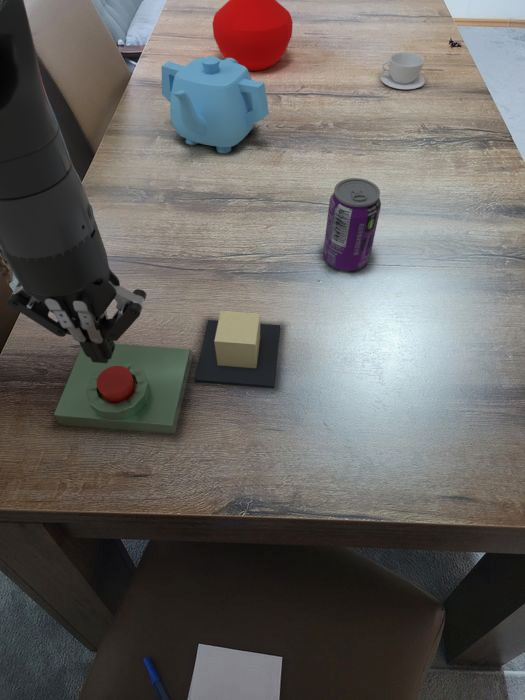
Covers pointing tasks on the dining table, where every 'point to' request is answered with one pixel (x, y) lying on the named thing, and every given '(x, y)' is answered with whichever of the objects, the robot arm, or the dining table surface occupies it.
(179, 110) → the teapot
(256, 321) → the block
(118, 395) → the switch
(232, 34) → the vase
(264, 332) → the mat
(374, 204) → the beverage can
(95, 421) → the switch base
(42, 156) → the robot arm
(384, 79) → the teacup
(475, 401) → the dining table surface
